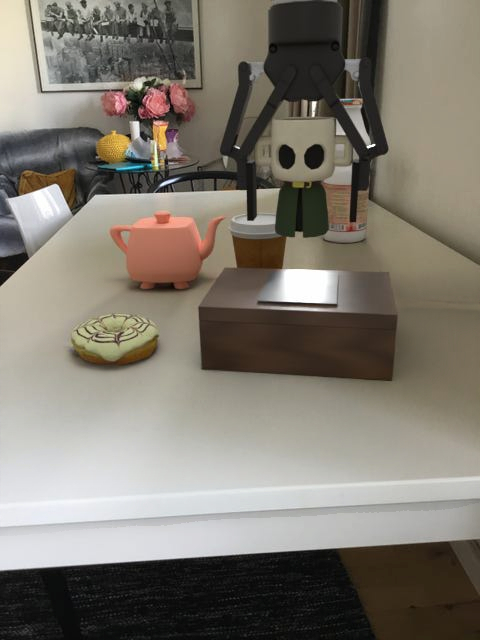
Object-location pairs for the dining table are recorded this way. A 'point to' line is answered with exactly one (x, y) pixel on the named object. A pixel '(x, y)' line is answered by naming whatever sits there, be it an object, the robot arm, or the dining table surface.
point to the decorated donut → (115, 338)
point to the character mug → (302, 170)
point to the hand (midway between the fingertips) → (301, 219)
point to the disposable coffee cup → (257, 242)
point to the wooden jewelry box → (300, 323)
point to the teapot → (165, 249)
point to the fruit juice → (346, 187)
